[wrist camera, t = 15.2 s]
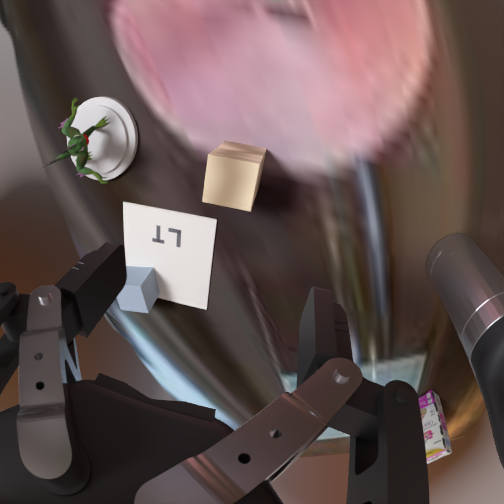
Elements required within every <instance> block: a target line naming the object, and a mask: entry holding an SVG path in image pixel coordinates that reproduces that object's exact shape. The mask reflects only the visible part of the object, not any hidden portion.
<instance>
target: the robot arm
mask: <svg viewBox="0 0 504 504" xmlns="http://www.w3.org/2000/svg"><path fill="white" fill-rule="evenodd" d="M426 271H427V275H428V277H429V279H430V281H431V282H432V284H433V286H434V288H435V290H436V292H437V294H438V295H439V297H440V299H441V301H442V303H443V305H444V307H445V309H446V311H447V313H448V315H449V317H450V319H451V321H452V323H453V325H454V327H455V329H456V331H457V333H458V335H459V337H460V339H461V341H462V344H463V345H464V348H465V350H466V352H467V354H468V357H469V359H470V361H471V364H472V366H473V368H474V371H475V374H476V378H477V381H478V384H479V387H480V390H481V392H482V395H483V398H484V401H485V405H486V408H487V411H488V415H489V420H490V424H491V428H492V432H493V437H494V441H495V445H496V449H497V452H498V455H499V459H500V462H501V464H502V466H503V468H504V276H503V275H502V274H501V273H500V272H499V270H498V269H497V268H496V267H495V265H494V264H493V263H492V262H491V261H490V260H489V258H488V257H487V256H486V255H485V254H484V252H483V251H482V250H481V249H480V248H479V247H478V246H477V245H476V243H475V242H474V241H473V240H472V239H471V238H470V237H468V236H467V235H464V234H459V233H457V234H452V235H449V236H447V237H445V238H443V239H442V240H441V241H439V242H438V243H437V244H436V245H435V247H434V248H433V249H432V251H431V253H430V254H429V257H428V260H427V265H426ZM126 280H127V270H126V258H125V248H124V246H123V245H120V244H116V243H111V242H106V243H105V244H104V245H103V246H101V247H100V248H99V249H98V250H95V251H93V252H91V253H89V254H87V255H85V256H84V257H83V258H82V259H81V260H80V261H79V263H77V264H76V265H75V266H74V267H73V268H72V269H71V270H69V271H68V272H67V274H65V276H63V277H62V278H61V279H60V280H59V281H58V282H57V284H55V286H52V285H45V286H42V287H39V288H37V289H36V290H34V291H33V292H32V293H31V295H30V294H18V292H17V289H16V286H15V285H14V284H13V283H12V282H3V283H0V326H1V325H2V327H3V330H4V332H5V333H4V335H3V336H2V337H1V338H0V394H1V393H2V391H3V389H4V388H5V386H6V384H7V383H8V381H9V379H10V378H11V376H12V375H13V373H14V371H15V370H16V369H17V367H18V365H19V403H20V404H19V405H16V406H14V407H11V408H9V409H6V410H4V411H2V412H0V504H283V502H282V501H281V499H280V498H279V497H278V495H277V493H276V492H275V490H274V489H273V487H272V486H271V484H270V483H272V482H273V481H274V480H275V479H276V478H277V477H278V476H280V475H281V474H282V473H283V472H284V471H285V470H286V469H287V468H288V467H289V466H290V465H291V464H292V463H293V462H294V461H295V460H296V459H297V458H298V457H299V456H300V455H301V454H302V453H303V452H304V451H305V450H306V449H307V448H308V447H309V446H310V445H311V444H312V443H313V442H314V441H315V440H316V439H317V438H318V437H319V436H320V435H321V434H322V433H323V432H324V431H325V430H326V429H327V428H328V427H331V428H333V429H336V430H338V431H341V432H343V433H346V434H349V435H350V457H349V460H350V461H349V477H348V491H347V503H346V504H429V484H428V469H427V458H426V449H425V440H424V432H423V425H422V418H421V411H420V405H419V399H418V395H417V393H416V391H415V389H414V388H413V387H412V386H411V385H409V384H408V383H406V382H404V381H400V380H393V381H390V382H389V383H387V384H386V386H385V387H384V386H382V385H379V384H377V383H374V382H371V381H369V380H367V379H365V378H364V377H363V376H362V372H361V370H360V368H359V367H358V366H357V365H356V364H355V363H354V362H353V357H352V349H351V341H350V334H349V327H348V320H347V314H346V312H345V311H344V309H343V308H342V306H341V305H340V304H334V303H332V297H331V291H330V290H327V289H322V288H317V287H312V288H311V290H310V293H309V296H308V299H307V302H306V305H305V308H304V311H303V314H302V317H301V321H300V327H299V350H298V371H297V389H296V390H295V391H293V392H292V393H289V392H286V393H284V394H282V395H281V396H280V397H278V398H277V399H276V400H275V401H273V402H272V403H271V404H270V405H268V406H267V407H266V408H264V409H263V410H262V411H261V412H259V413H258V414H257V415H255V416H254V417H253V418H251V419H250V420H249V421H247V422H246V423H245V424H243V425H242V426H241V427H239V428H238V429H236V430H235V431H234V430H233V429H232V428H231V427H229V426H228V425H227V424H225V423H224V422H222V421H220V420H218V419H216V418H215V410H216V409H212V408H208V407H203V406H199V405H196V404H192V403H188V402H184V401H167V400H156V399H151V398H148V397H147V396H145V395H143V394H142V393H140V392H139V391H137V390H136V389H134V388H132V387H130V386H129V385H128V384H126V383H124V382H122V381H119V380H116V379H114V378H111V377H109V376H106V375H104V374H101V373H99V375H98V376H97V378H96V380H82V379H81V375H80V369H79V363H78V355H77V347H76V341H75V337H76V335H77V334H80V335H82V336H85V337H88V336H89V334H90V333H91V331H92V330H93V329H94V327H95V326H96V324H97V323H98V322H99V320H100V319H101V317H102V316H103V315H104V313H105V312H106V311H107V309H108V308H109V307H110V305H111V304H112V303H113V301H114V300H115V299H116V297H117V296H118V295H119V293H120V292H121V291H122V289H123V288H124V286H125V284H126Z"/></svg>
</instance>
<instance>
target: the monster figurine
mask: <svg viewBox="0 0 504 504" xmlns="http://www.w3.org/2000/svg"><path fill="white" fill-rule="evenodd" d="M75 99H76V98H75ZM75 99H74V100H73V101H72V115H71V116H70V117H69V119H66V121H64V122H62V123H60V124H61V127H59V128H62V132H63V133H64V134H65V135H66V136H67V145H68V148H67V150H66V151H65V152H63V153H62V154H61V155H60V156H58V157H57V158H55V159H54V160H52V161H51V162H49V163H48V164H46V165H45V166H47V165H50V164H52V163H54V162H57V161H59V160H62V159H64V158H67V157H69V156H71V158H72V160H73V162H74V164H75V165H76V169H77V171H78V172H79V173H78V174H77V175H80V177H82V176H84V175H86V176H88V177H90V178H92V179H95V180H99V181H100V182H101V183H102V184H103V183H107V181H109V180H110V179H112V178H115V177H117V176H118V175H120V174H122V173H123V172H124V171H125V170H126V169H127V168H128V167H129V166H130V164H131V163H132V161H133V159H134V157H135V154H136V150H137V145H138V132H137V126H136V123H135V120H134V118H133V116H132V114H131V112H130V111H129V109H128V108H127V107H126V106H125V105H124V104H123V103H121V102H120V101H118V100H116V99H114V98H111V97H96V98H92V99H89V100H87V101H86V102H84V103H83V104H81V105H80V106H79V107H78V106H77V107H75V105H74V104H75V102H76V101H77V100H78V99H77V100H76V101H75ZM45 166H44V167H45ZM77 175H76V176H77ZM104 180H105V181H104Z"/></svg>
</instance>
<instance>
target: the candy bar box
mask: <svg viewBox="0 0 504 504" xmlns="http://www.w3.org/2000/svg"><path fill="white" fill-rule="evenodd" d="M418 399H419V405H420V411H421V418H422V425H423V432H424V440H425V449H426V458H427V464H428V463H430V462H432V461H435V460H437V459H439V458H441V457H444V456H445V455H448V454H450V453H452V449H451V445H450V440H449V435H448V430H447V426H446V422H445V417H444V413H443V409H442V406H441V402H440V398H439V395H438V394H437V393H435V392H434V391H433V390H430V391H428V392H427V393H425V394H423V395H421V396H420V397H418Z"/></svg>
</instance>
